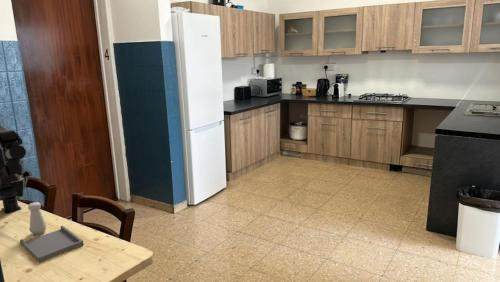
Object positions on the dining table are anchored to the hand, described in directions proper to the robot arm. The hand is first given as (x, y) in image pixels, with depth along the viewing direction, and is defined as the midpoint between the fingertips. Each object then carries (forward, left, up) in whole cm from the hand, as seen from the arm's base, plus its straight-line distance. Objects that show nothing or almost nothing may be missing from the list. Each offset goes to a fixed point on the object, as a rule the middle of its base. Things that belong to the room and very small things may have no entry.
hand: (21, 196), depth 154 cm
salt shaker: (+15, 0, -12) cm, 19 cm away
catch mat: (+28, 0, -12) cm, 30 cm away
